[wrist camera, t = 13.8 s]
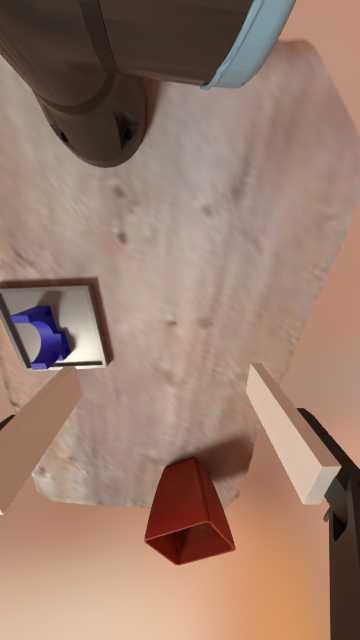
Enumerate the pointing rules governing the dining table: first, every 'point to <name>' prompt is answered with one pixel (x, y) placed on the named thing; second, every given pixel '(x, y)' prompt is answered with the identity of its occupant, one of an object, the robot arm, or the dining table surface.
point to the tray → (57, 324)
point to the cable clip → (45, 336)
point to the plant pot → (187, 516)
